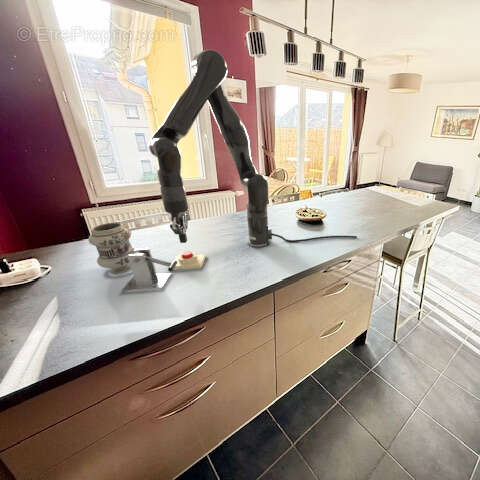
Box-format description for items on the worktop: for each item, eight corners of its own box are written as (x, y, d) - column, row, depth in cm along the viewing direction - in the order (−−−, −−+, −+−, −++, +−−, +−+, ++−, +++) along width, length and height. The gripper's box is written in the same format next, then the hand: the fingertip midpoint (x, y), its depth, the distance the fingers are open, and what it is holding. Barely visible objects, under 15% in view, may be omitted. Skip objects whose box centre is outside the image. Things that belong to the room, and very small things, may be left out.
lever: (176, 265, 87) (178, 259, 86) (171, 273, 82) (173, 267, 81) (138, 254, 82) (139, 248, 82) (130, 262, 78) (132, 255, 77)
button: (193, 254, 98) (192, 250, 97) (191, 258, 95) (190, 254, 94) (184, 254, 97) (183, 251, 96) (181, 259, 94) (180, 255, 93)
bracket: (172, 275, 90) (163, 244, 85) (162, 290, 82) (153, 257, 77) (135, 278, 88) (124, 246, 82) (122, 293, 80) (109, 259, 74)
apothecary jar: (119, 261, 98) (104, 219, 90) (149, 262, 97) (136, 221, 90) (93, 278, 87) (73, 232, 79) (126, 280, 86) (110, 233, 79)
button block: (206, 258, 102) (204, 250, 101) (201, 269, 94) (199, 260, 93) (178, 260, 100) (176, 251, 99) (170, 271, 92) (168, 262, 91)
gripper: (180, 202, 81) (189, 249, 88) (191, 193, 93) (198, 234, 100) (155, 203, 79) (166, 250, 87) (169, 193, 91) (178, 235, 98)
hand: (183, 242), depth 93 cm, fingers closed
